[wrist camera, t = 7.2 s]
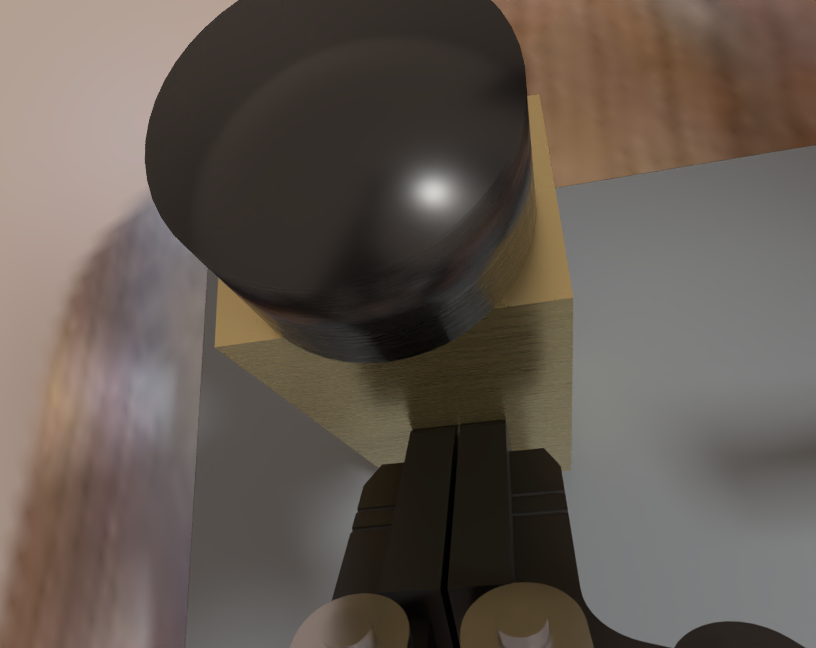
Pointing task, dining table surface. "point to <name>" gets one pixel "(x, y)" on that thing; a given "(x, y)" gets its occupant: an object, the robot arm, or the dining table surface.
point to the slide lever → (374, 216)
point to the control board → (584, 424)
